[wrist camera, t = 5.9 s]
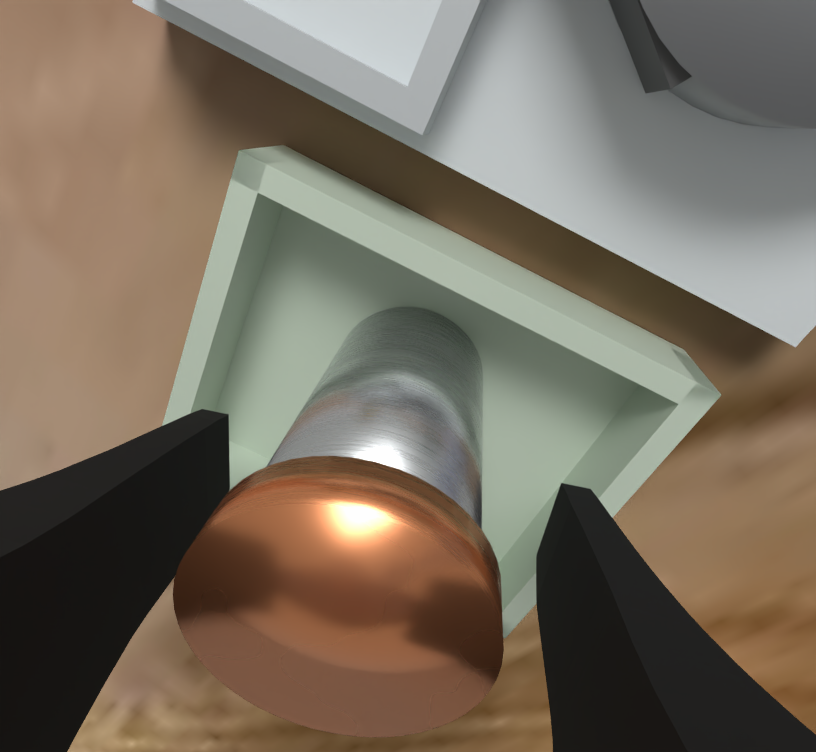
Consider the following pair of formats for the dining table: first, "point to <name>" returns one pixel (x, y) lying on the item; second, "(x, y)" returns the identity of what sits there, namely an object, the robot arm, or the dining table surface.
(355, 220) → the tray
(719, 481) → the dining table surface
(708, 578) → the dining table surface
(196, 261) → the dining table surface
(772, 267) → the pulley board
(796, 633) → the dining table surface
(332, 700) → the pin
